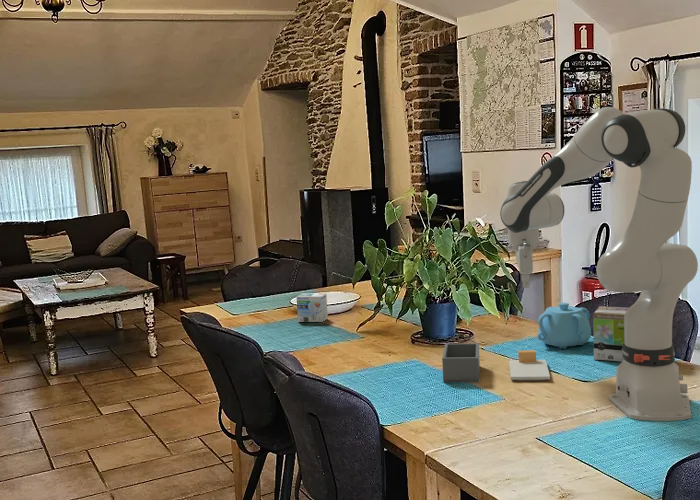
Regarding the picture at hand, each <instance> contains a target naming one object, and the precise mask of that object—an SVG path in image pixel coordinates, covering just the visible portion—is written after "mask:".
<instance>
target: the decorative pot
mask: <svg viewBox="0 0 700 500" xmlns="http://www.w3.org/2000/svg"><path fill="white" fill-rule="evenodd" d="M590 317H591V316H590V311H589V310H588V309H587V308H586V307H576V306H572V305H570V303H568V302H559V303H558V306H548V307H546V309H545V310H544V312H543V313H541V314H540V315H539V317H538V320H537V323H538V330H537V333H538V334H537V339H538V340H540V341H542V343H544V344H547V345H548V344H549V345H550V346H552V347H553V346H554V347H559V348H566V349H567V348H568V347H575V346H576V345H583V346H584V345H585V344H586V343H588V341H590V339H591V337H592V328H591V325H590V321H589V319H590ZM559 348H558V349H559Z"/></svg>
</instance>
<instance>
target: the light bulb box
mask: <svg viewBox="0 0 700 500" xmlns="http://www.w3.org/2000/svg"><path fill="white" fill-rule="evenodd" d="M296 309H297V323H298V322H323V321H325V320H326V319H328V320H329V315H328V314H329V313H328V299H327V293H326V292H324V293H321V292H319V293H315V292H313V293H310V292H309V293H306V292H304V293H300V294H299V295H296ZM326 321H327V320H326ZM326 321H325V322H326ZM323 323H324V322H323Z"/></svg>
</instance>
